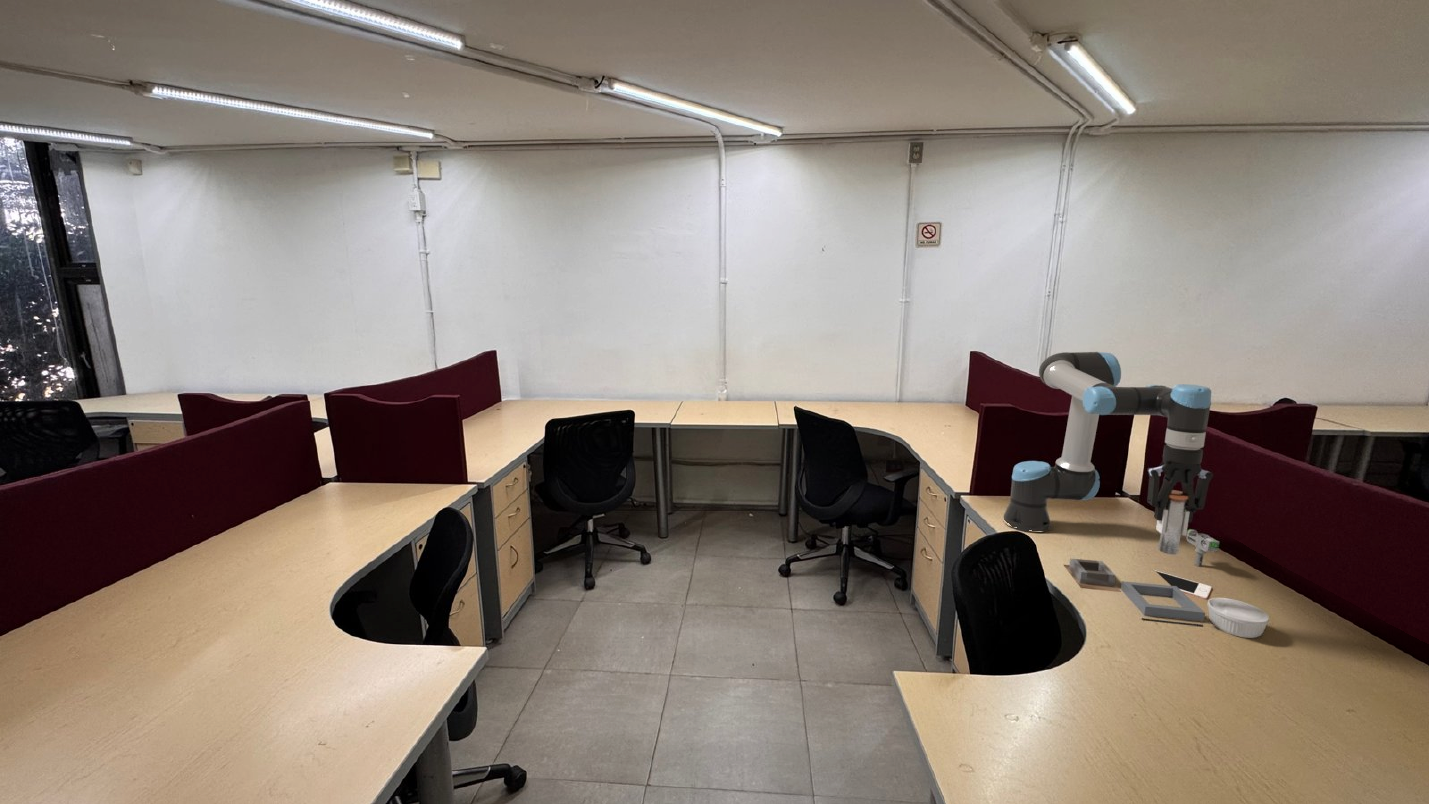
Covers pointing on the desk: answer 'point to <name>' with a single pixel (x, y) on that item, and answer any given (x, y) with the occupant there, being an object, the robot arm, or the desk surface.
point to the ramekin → (1237, 617)
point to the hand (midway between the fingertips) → (1170, 532)
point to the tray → (1185, 612)
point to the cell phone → (1187, 585)
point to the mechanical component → (1201, 544)
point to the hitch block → (1092, 574)
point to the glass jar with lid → (1173, 522)
